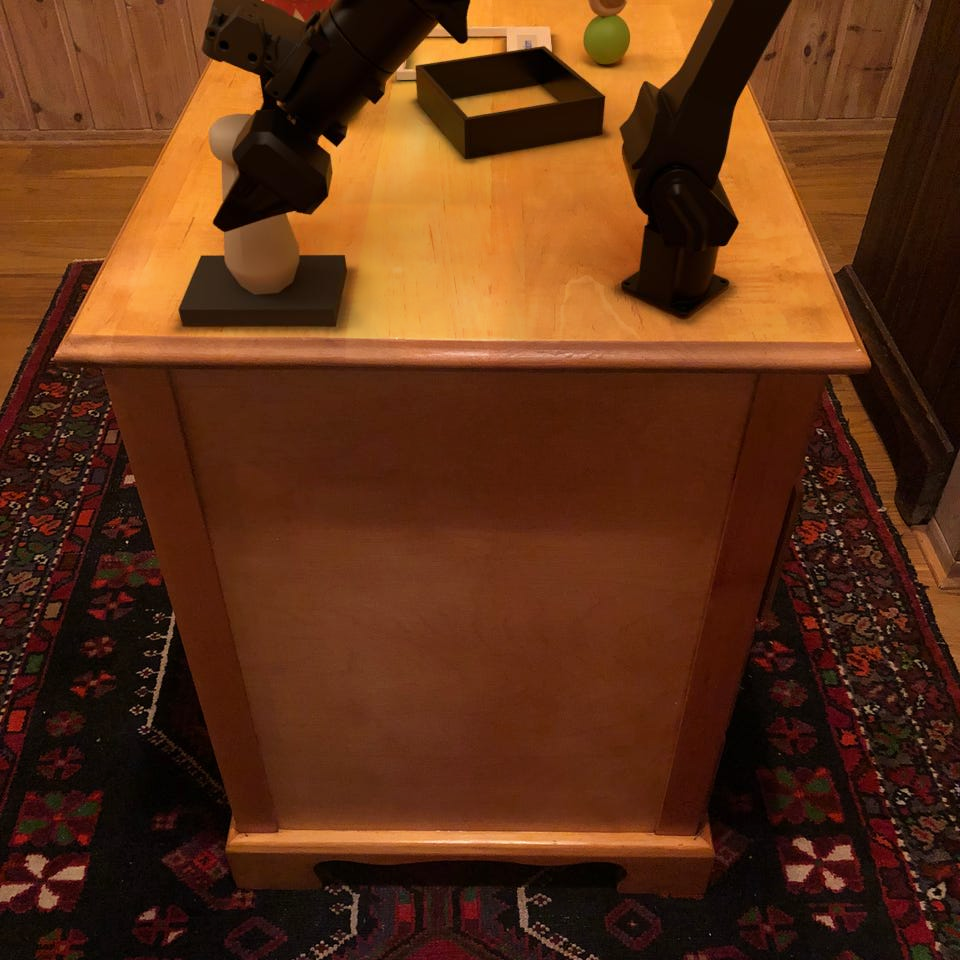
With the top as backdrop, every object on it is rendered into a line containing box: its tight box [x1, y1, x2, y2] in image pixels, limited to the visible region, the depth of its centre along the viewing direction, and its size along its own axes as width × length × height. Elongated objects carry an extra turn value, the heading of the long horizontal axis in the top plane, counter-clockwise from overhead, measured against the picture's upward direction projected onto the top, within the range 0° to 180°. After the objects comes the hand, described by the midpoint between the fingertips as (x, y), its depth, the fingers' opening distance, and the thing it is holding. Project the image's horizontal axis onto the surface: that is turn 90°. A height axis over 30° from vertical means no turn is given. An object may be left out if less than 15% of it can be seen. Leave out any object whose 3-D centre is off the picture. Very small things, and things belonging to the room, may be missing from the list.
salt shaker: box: [208, 113, 300, 295], centre depth 71 cm, size 6×6×13 cm
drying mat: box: [178, 254, 348, 327], centre depth 76 cm, size 8×12×2 cm, turn 90°
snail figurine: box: [582, 0, 631, 65], centre depth 108 cm, size 5×6×12 cm
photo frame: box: [395, 26, 553, 81], centre depth 114 cm, size 15×1×18 cm
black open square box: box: [415, 46, 606, 160], centre depth 100 cm, size 15×15×4 cm
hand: (229, 196), depth 71 cm, fingers open, 9 cm apart
